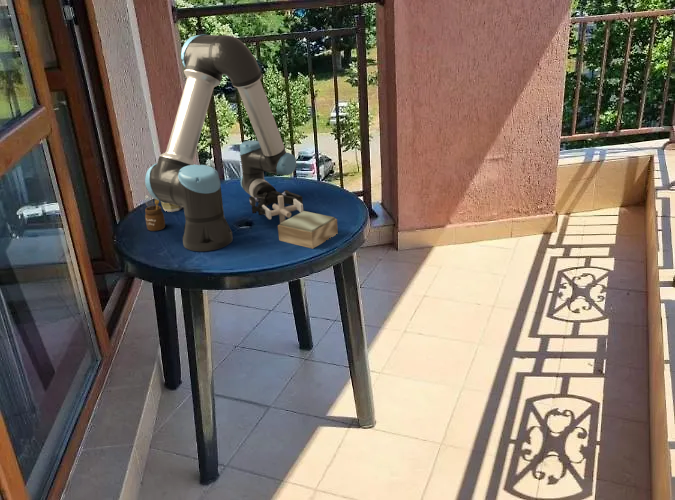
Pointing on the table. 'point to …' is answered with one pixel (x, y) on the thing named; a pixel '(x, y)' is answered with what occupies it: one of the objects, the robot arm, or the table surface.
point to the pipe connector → (282, 209)
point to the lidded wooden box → (307, 229)
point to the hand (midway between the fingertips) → (286, 211)
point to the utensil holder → (154, 217)
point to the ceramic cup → (170, 207)
